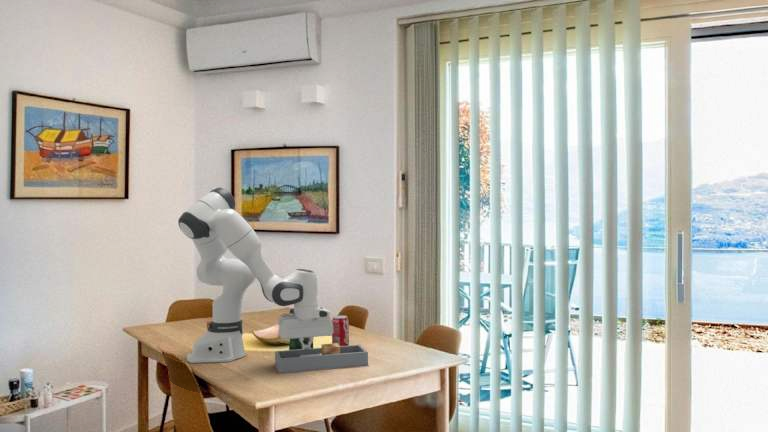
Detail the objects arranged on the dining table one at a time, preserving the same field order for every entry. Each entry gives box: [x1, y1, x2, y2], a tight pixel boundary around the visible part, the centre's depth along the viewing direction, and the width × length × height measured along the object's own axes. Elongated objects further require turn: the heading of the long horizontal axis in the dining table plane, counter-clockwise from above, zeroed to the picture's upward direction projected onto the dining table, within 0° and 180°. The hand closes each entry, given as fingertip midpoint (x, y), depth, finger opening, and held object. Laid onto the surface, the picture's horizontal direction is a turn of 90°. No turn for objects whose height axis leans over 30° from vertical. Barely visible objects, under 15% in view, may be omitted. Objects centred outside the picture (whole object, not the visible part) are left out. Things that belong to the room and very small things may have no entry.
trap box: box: [274, 344, 369, 374], centre depth 220 cm, size 33×12×5 cm, turn 106°
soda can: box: [331, 314, 350, 346], centre depth 246 cm, size 7×7×13 cm
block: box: [321, 342, 340, 355], centre depth 221 cm, size 6×6×4 cm
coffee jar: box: [288, 307, 314, 350], centre depth 238 cm, size 10×8×19 cm
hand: (306, 349), depth 219 cm, fingers closed
